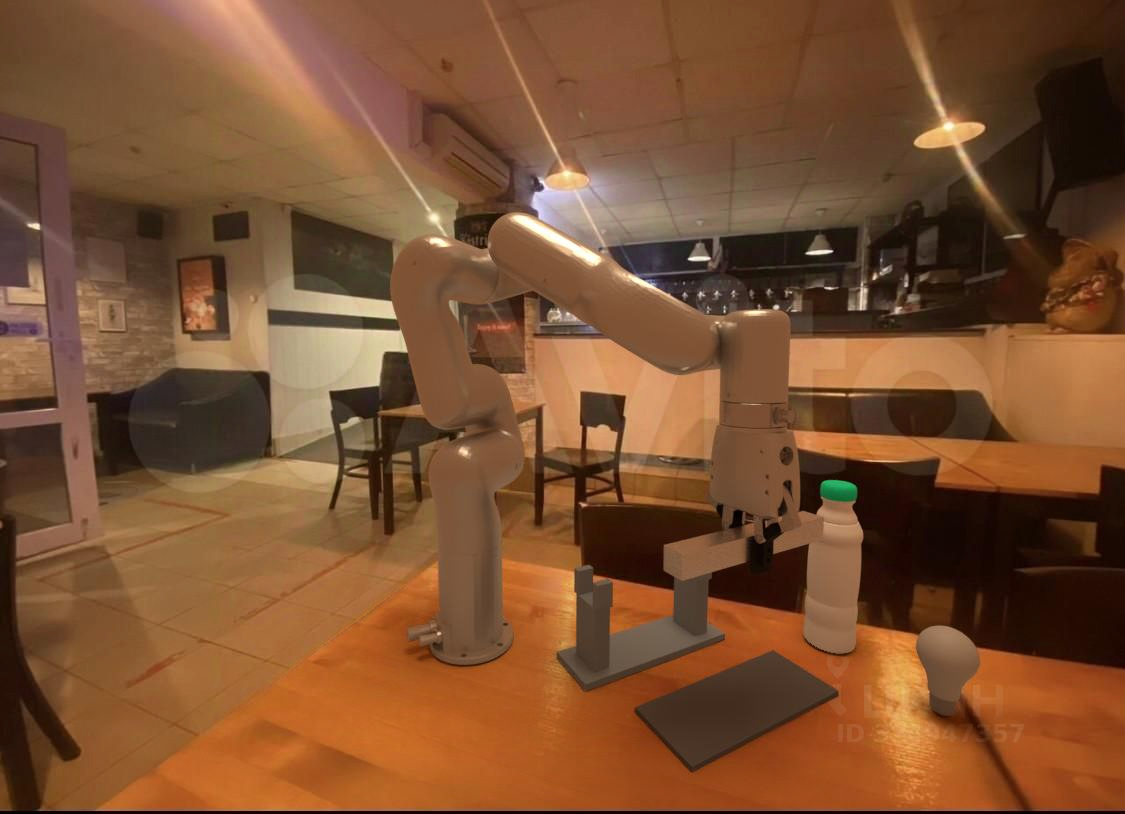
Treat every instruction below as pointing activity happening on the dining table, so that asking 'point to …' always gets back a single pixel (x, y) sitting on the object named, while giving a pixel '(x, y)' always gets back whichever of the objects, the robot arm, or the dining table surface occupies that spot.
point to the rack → (633, 631)
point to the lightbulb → (946, 665)
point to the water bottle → (834, 572)
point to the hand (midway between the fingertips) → (748, 564)
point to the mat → (733, 707)
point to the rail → (732, 547)
